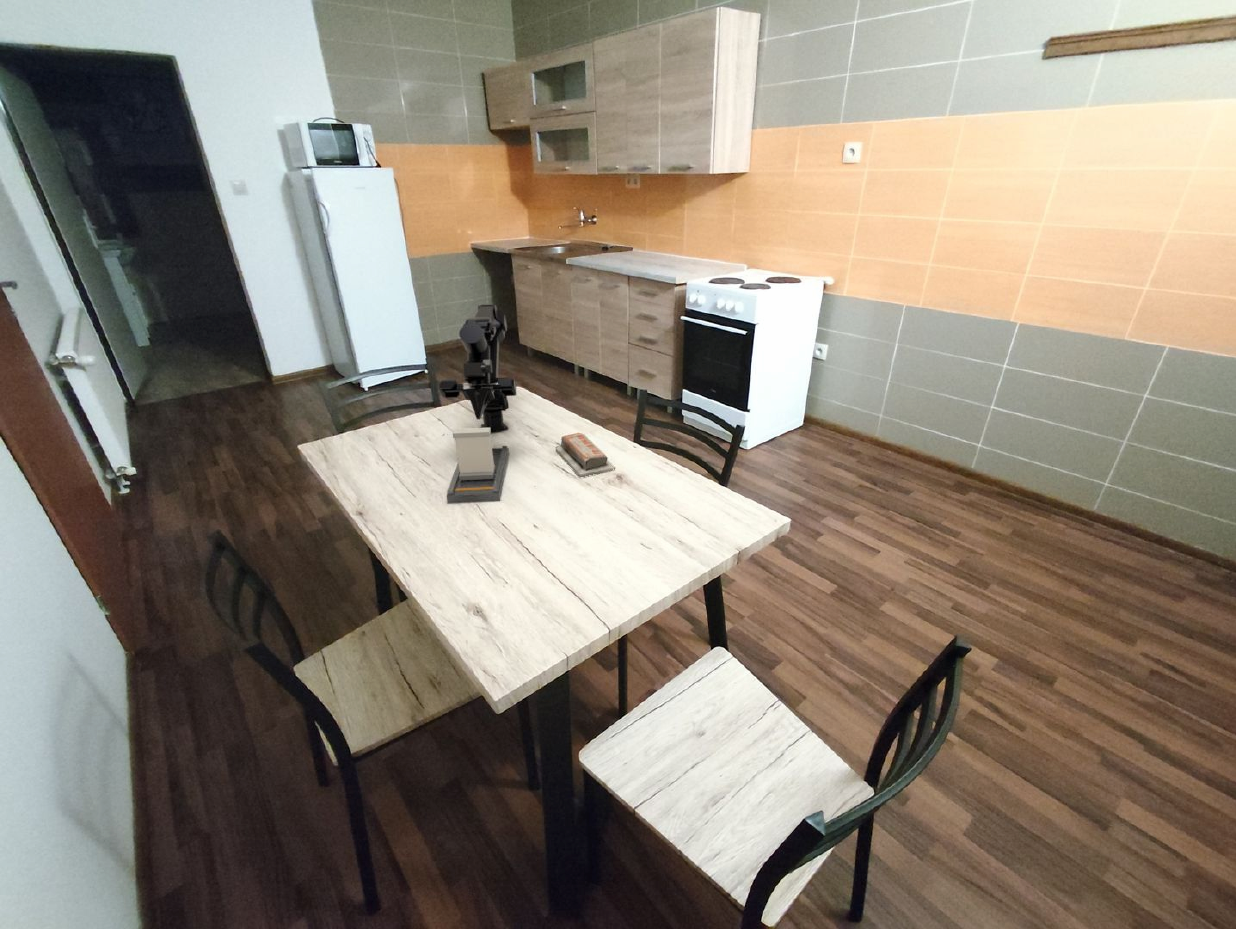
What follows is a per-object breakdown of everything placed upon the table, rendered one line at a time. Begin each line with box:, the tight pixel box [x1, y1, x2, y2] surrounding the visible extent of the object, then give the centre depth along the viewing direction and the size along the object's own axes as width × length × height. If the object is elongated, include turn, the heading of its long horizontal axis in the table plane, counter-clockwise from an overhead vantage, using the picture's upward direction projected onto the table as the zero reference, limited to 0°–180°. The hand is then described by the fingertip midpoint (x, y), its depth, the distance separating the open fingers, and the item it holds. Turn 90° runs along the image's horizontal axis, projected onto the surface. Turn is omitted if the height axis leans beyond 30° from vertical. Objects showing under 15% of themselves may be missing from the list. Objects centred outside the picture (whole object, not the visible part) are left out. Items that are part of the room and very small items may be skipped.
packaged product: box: [555, 432, 616, 478], centre depth 149 cm, size 18×5×10 cm
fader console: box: [446, 445, 510, 504], centre depth 142 cm, size 24×12×3 cm, turn 4°
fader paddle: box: [452, 427, 496, 480], centre depth 136 cm, size 5×8×12 cm, turn 94°
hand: (478, 418), depth 143 cm, fingers closed
